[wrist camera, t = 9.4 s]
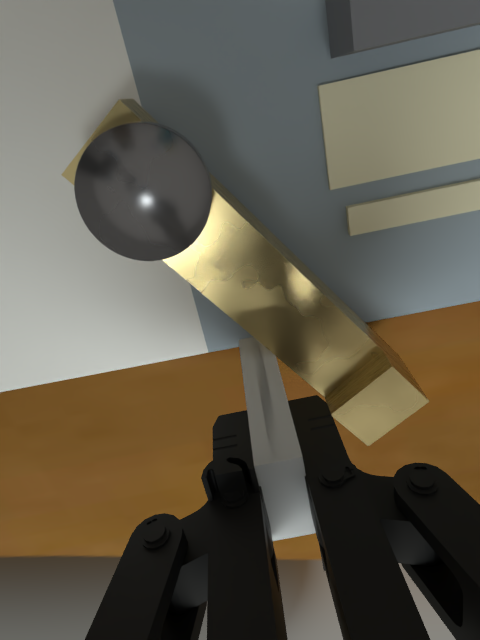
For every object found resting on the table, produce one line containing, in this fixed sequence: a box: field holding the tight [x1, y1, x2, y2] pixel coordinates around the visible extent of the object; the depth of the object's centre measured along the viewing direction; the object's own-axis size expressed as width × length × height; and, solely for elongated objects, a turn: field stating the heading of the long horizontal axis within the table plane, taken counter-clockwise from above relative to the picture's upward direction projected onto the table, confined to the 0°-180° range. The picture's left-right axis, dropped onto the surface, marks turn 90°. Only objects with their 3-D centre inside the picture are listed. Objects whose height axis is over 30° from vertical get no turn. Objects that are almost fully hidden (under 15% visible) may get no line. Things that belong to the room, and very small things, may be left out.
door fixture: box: [0, 0, 480, 392], centre depth 15 cm, size 14×23×4 cm, turn 101°
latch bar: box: [61, 99, 429, 446], centre depth 15 cm, size 13×4×3 cm, turn 46°
